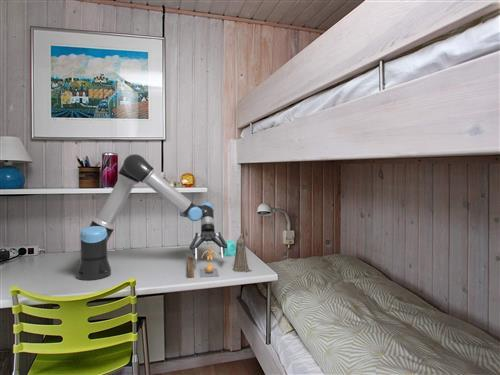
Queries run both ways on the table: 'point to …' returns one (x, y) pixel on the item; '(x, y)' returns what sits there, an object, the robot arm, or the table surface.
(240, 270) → the wizard figurine
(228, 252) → the decorative dice
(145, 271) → the table surface
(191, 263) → the walnut rail
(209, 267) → the figurine
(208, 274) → the mat
